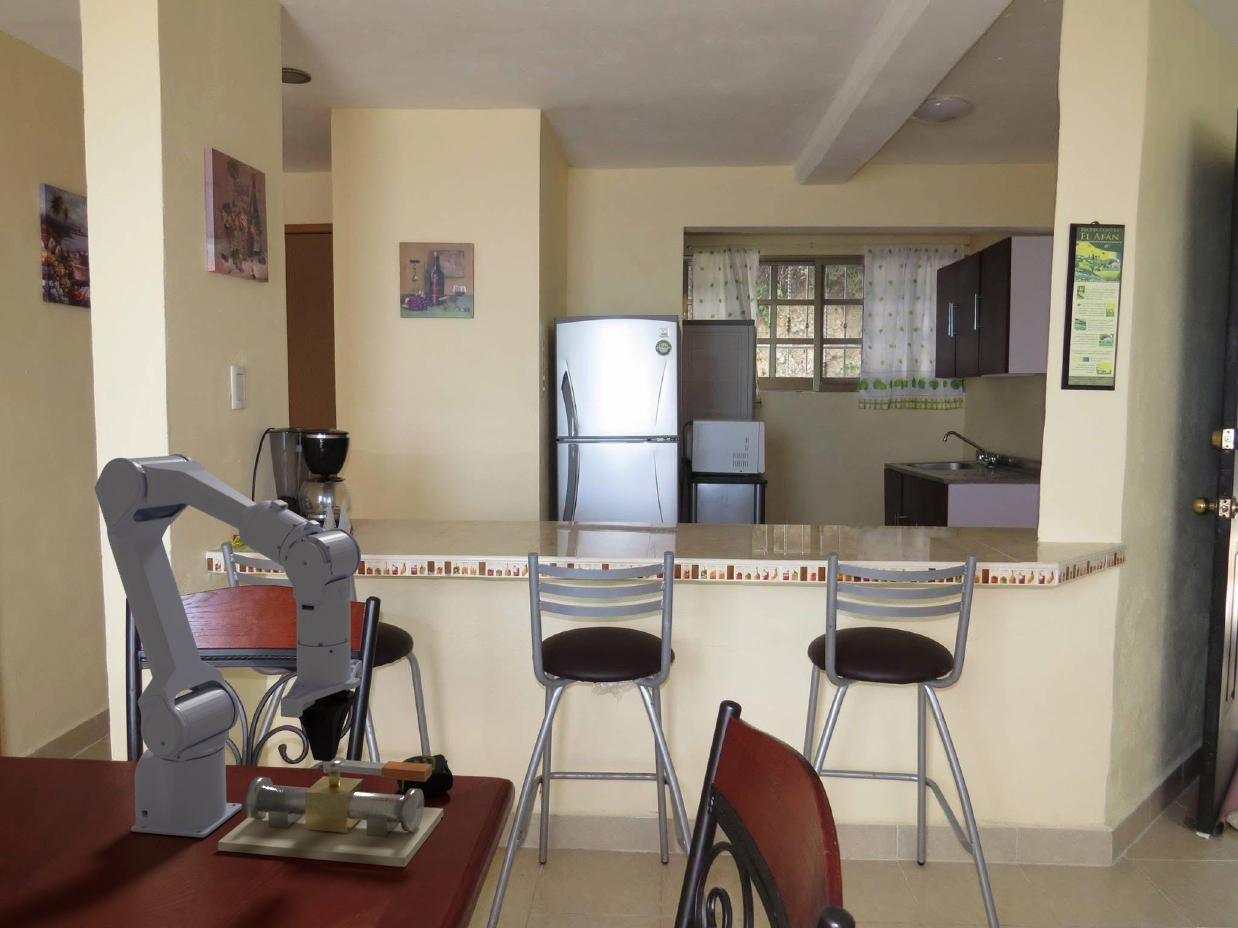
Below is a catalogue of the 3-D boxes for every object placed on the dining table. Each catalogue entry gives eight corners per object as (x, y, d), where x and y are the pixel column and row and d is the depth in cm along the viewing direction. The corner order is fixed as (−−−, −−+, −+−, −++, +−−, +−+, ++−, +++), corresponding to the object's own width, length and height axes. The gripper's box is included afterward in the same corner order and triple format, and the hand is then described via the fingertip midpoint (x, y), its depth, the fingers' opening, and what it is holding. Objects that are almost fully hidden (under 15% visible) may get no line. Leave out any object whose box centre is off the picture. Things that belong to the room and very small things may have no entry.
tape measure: (454, 798, 115) (454, 769, 114) (399, 805, 113) (398, 776, 112) (447, 777, 121) (447, 750, 121) (395, 783, 119) (395, 755, 119)
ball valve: (244, 826, 104) (243, 773, 104) (266, 809, 109) (265, 758, 108) (409, 840, 101) (408, 786, 101) (424, 821, 106) (423, 769, 105)
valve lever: (319, 773, 104) (319, 763, 103) (329, 765, 106) (329, 755, 106) (424, 782, 101) (424, 771, 101) (432, 773, 104) (432, 763, 104)
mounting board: (218, 850, 101) (218, 841, 101) (274, 803, 113) (274, 795, 113) (405, 866, 97) (405, 857, 97) (443, 816, 109) (443, 808, 109)
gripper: (324, 660, 92) (325, 788, 93) (385, 625, 106) (386, 737, 107) (261, 655, 94) (263, 782, 94) (330, 622, 108) (331, 732, 109)
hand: (324, 758), depth 101 cm, fingers closed
